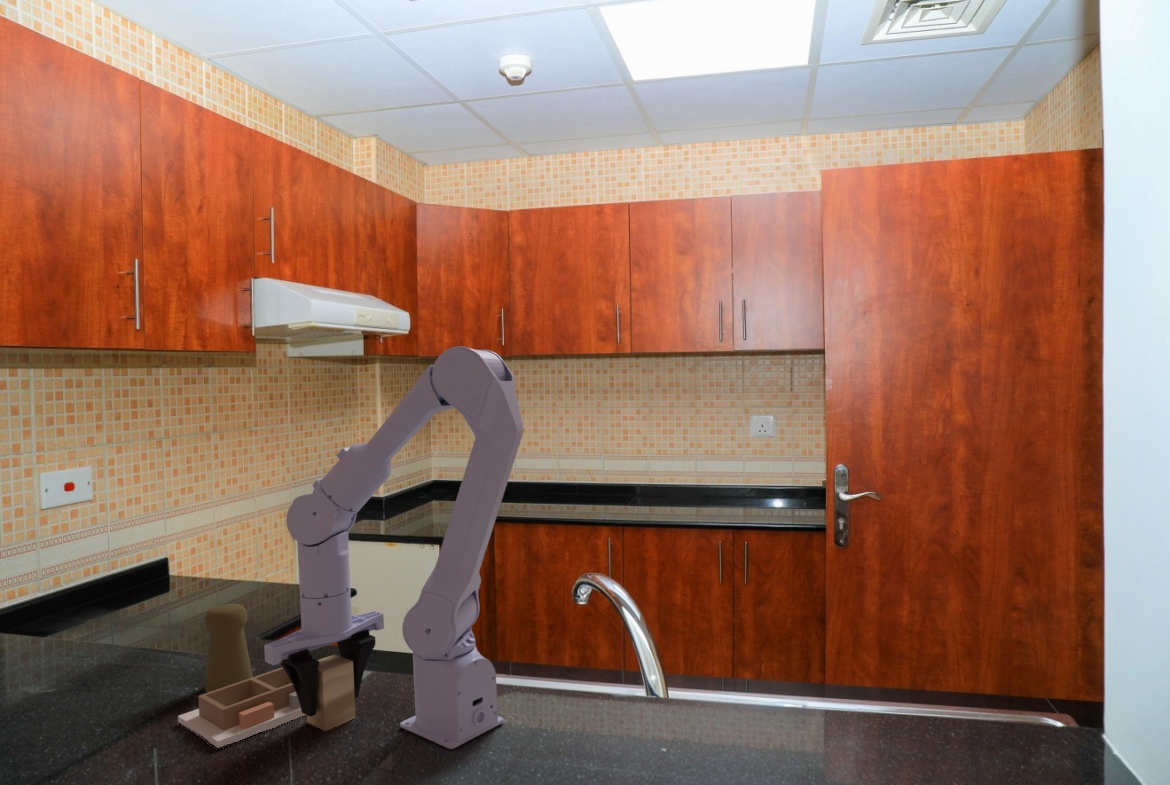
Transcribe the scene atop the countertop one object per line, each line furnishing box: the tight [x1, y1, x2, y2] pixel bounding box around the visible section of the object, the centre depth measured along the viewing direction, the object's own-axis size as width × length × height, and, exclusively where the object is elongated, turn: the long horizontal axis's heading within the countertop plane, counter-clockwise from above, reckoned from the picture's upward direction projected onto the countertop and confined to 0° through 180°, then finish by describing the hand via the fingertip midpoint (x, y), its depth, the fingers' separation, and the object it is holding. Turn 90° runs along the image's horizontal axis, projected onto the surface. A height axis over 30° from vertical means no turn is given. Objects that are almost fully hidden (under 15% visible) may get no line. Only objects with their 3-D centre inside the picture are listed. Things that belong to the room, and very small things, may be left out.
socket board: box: [177, 666, 307, 748], centre depth 90 cm, size 11×16×3 cm
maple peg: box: [306, 653, 357, 732], centre depth 87 cm, size 4×4×7 cm
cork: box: [204, 603, 254, 692], centre depth 99 cm, size 6×6×11 cm
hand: (330, 704), depth 87 cm, fingers open, 5 cm apart
